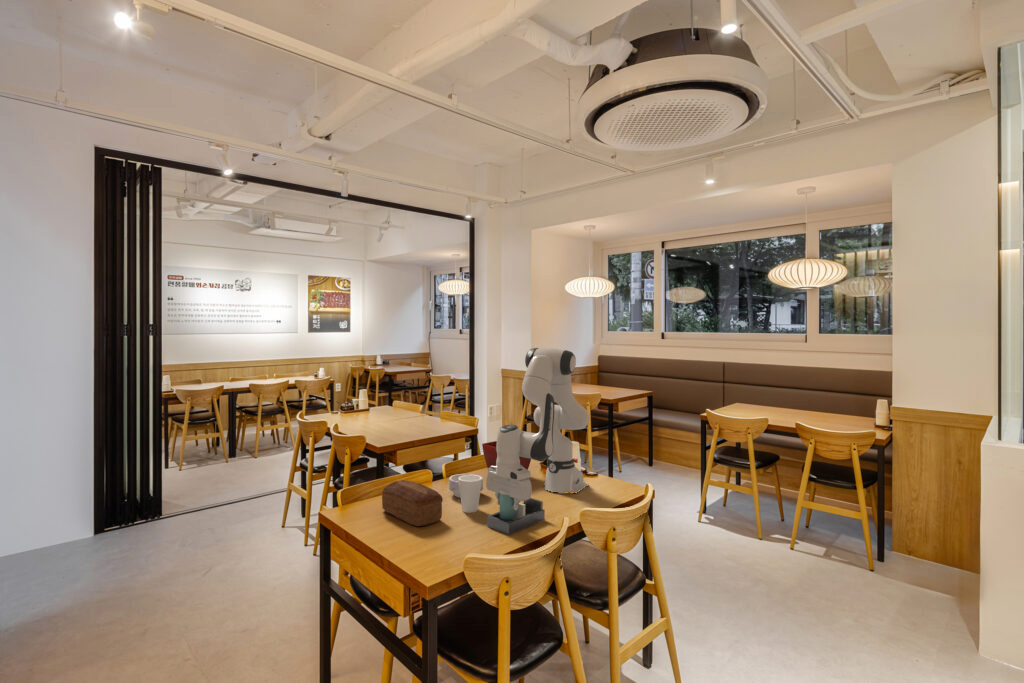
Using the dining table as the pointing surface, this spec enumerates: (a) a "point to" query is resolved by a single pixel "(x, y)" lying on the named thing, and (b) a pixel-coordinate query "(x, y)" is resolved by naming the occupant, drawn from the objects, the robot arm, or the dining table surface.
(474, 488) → the foam cup
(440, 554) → the dining table surface
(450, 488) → the pale lilac bowl
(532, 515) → the grey open box
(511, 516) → the jar
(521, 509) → the plate
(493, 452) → the plant pot
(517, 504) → the robot arm
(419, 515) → the bread
